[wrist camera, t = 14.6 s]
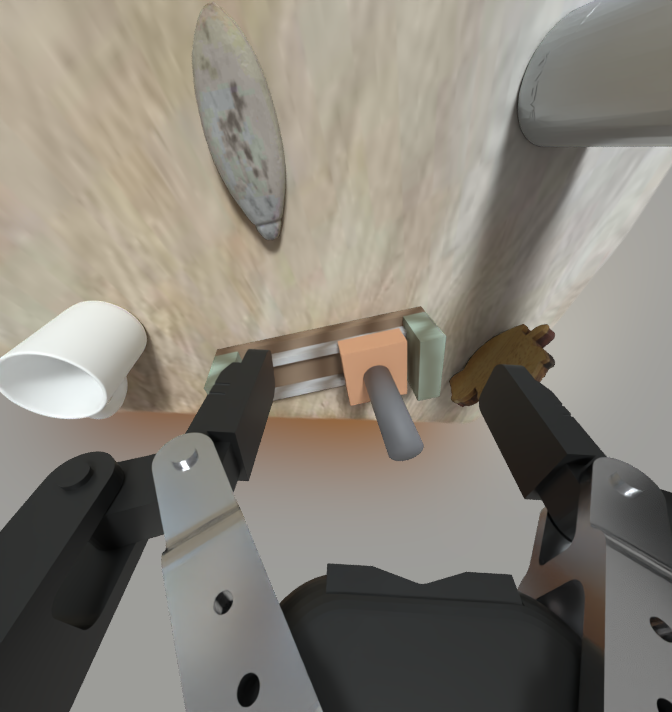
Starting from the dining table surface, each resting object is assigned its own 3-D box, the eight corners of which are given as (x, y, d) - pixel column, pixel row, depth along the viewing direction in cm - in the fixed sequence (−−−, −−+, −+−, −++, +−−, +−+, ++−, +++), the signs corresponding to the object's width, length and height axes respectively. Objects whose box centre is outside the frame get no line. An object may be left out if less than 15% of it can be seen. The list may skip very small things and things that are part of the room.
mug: (167, 377, 38) (135, 438, 30) (101, 380, 37) (50, 445, 29) (134, 297, 31) (80, 350, 23) (51, 298, 30) (-37, 354, 22)
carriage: (399, 328, 35) (450, 411, 24) (399, 379, 40) (442, 466, 29) (337, 341, 35) (360, 431, 24) (346, 390, 40) (369, 482, 29)
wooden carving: (455, 389, 49) (488, 436, 41) (437, 381, 47) (468, 429, 39) (533, 315, 41) (592, 355, 33) (516, 303, 39) (573, 342, 31)
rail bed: (420, 306, 37) (446, 336, 31) (418, 362, 43) (439, 396, 37) (217, 349, 37) (203, 388, 31) (244, 400, 43) (237, 440, 37)
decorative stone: (247, 241, 30) (243, 251, 27) (169, 24, 20) (151, 5, 17) (302, 229, 30) (304, 238, 27) (251, 6, 20) (246, -15, 17)
